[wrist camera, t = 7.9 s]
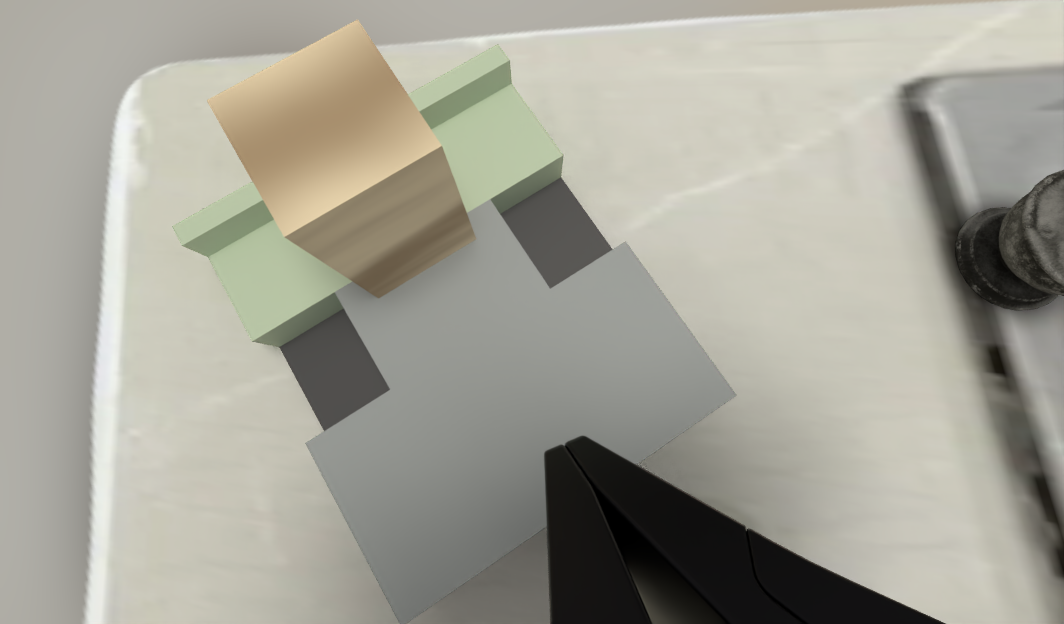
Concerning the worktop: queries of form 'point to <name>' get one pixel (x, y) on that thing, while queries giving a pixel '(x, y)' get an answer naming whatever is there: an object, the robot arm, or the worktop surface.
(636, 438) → the board
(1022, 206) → the salt shaker
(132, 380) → the worktop surface
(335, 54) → the beech block
